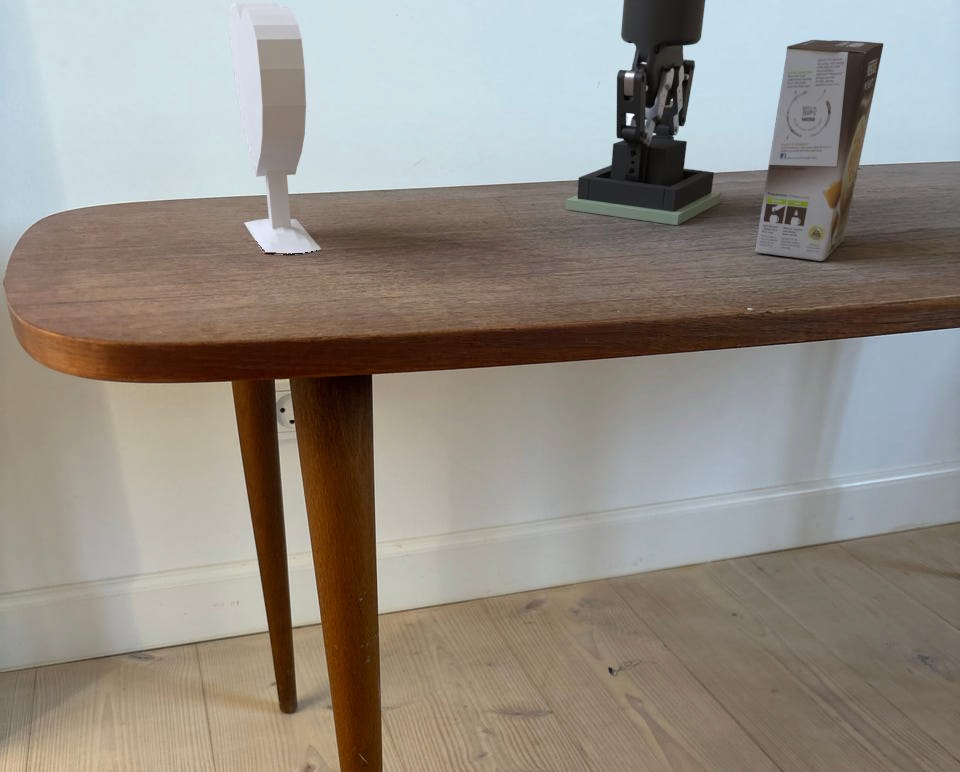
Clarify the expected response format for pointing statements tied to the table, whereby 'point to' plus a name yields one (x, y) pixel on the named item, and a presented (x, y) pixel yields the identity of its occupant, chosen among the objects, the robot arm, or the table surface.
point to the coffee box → (817, 146)
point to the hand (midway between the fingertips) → (647, 179)
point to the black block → (654, 161)
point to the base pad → (645, 197)
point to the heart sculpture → (271, 113)
